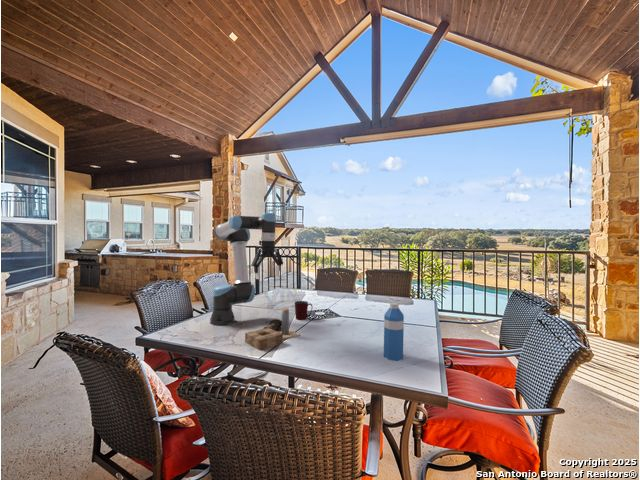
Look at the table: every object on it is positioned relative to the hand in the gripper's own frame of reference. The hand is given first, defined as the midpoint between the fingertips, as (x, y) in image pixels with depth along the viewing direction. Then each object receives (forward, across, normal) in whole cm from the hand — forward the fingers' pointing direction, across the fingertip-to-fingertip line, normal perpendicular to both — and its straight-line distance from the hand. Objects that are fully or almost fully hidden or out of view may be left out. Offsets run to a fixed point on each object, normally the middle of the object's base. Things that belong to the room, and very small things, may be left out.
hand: (267, 277), depth 170 cm
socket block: (+32, -10, -11) cm, 35 cm away
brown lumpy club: (+32, +5, +1) cm, 33 cm away
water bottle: (+30, +24, -68) cm, 78 cm away
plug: (+31, +6, -9) cm, 33 cm away
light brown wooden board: (+32, +6, -9) cm, 34 cm away
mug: (+33, +36, +8) cm, 49 cm away
